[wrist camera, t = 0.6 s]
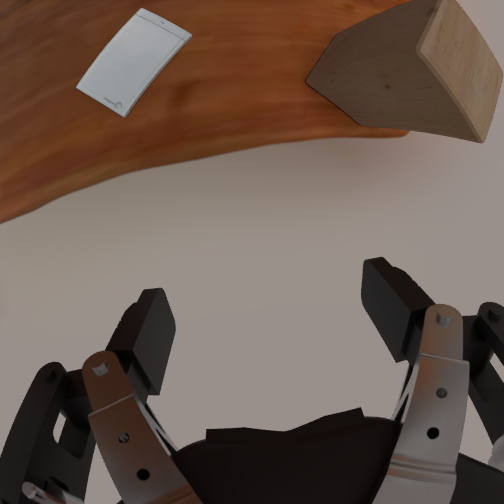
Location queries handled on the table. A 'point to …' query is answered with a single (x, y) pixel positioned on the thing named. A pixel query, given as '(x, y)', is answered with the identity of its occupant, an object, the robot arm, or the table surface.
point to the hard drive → (132, 61)
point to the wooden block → (413, 71)
